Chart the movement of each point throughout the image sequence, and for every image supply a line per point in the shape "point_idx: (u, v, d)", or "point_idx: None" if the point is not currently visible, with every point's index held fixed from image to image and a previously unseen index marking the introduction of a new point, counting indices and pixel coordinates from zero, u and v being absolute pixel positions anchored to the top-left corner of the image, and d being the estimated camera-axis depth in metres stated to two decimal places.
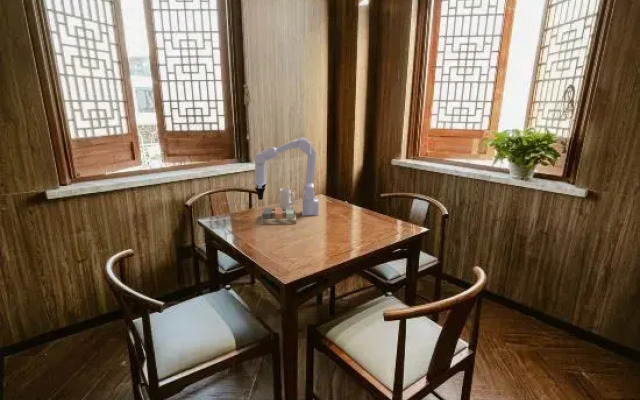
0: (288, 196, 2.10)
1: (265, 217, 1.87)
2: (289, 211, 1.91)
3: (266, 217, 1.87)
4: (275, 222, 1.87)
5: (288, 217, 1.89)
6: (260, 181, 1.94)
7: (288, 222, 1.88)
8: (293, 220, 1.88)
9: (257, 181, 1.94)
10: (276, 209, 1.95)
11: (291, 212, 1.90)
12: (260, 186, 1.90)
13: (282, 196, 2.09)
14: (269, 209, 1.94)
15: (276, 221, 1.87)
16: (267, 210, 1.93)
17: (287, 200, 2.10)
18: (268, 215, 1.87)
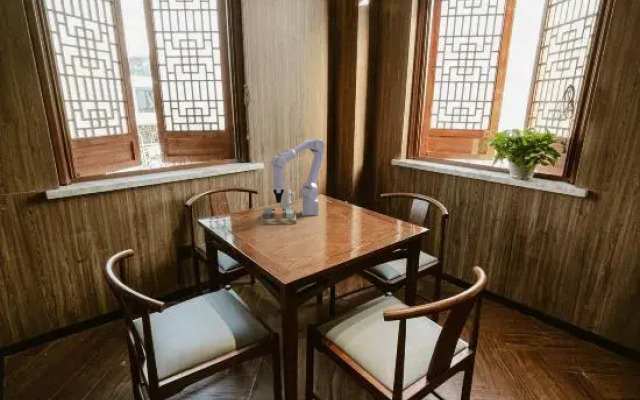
0: (288, 196, 2.10)
1: (265, 217, 1.87)
2: (289, 211, 1.91)
3: (266, 217, 1.87)
4: (275, 222, 1.87)
5: (288, 217, 1.89)
6: (278, 185, 1.86)
7: (288, 222, 1.88)
8: (293, 220, 1.88)
9: (275, 185, 1.87)
10: (276, 209, 1.95)
11: (291, 212, 1.90)
12: (279, 190, 1.83)
13: (282, 196, 2.09)
14: (269, 209, 1.94)
15: (276, 221, 1.87)
16: (267, 210, 1.93)
17: (287, 200, 2.10)
18: (268, 215, 1.87)
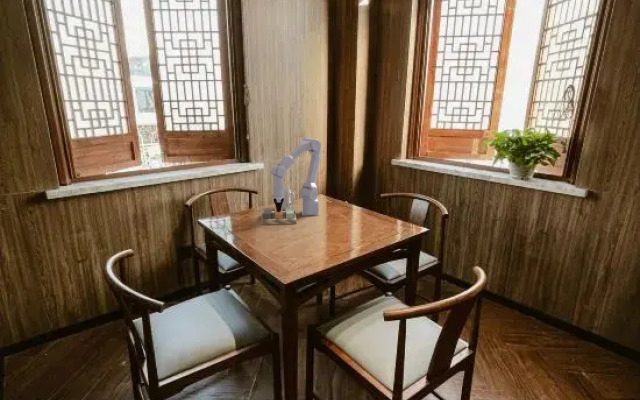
0: (288, 196, 2.10)
1: (265, 217, 1.87)
2: (289, 211, 1.91)
3: (266, 217, 1.87)
4: (275, 222, 1.87)
5: (288, 217, 1.89)
6: (278, 194, 1.88)
7: (288, 222, 1.88)
8: (293, 220, 1.88)
9: (275, 194, 1.88)
10: None
11: (291, 212, 1.90)
12: (279, 200, 1.84)
13: None
14: (269, 209, 1.94)
15: (276, 221, 1.87)
16: (267, 210, 1.93)
17: (287, 200, 2.10)
18: (268, 215, 1.87)
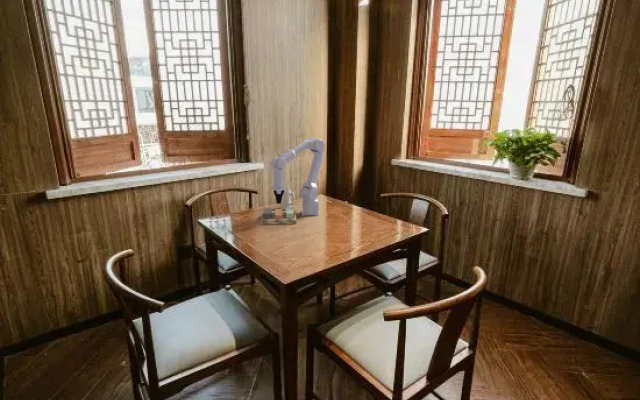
0: (288, 196, 2.10)
1: (265, 217, 1.87)
2: (289, 211, 1.91)
3: (266, 217, 1.87)
4: (275, 222, 1.87)
5: (288, 217, 1.89)
6: (279, 186, 1.86)
7: (288, 222, 1.88)
8: (293, 220, 1.88)
9: (275, 186, 1.87)
10: (276, 211, 1.95)
11: (291, 212, 1.90)
12: (279, 191, 1.83)
13: (282, 196, 2.09)
14: (269, 209, 1.94)
15: (276, 221, 1.87)
16: (267, 210, 1.93)
17: (287, 200, 2.10)
18: (268, 215, 1.87)
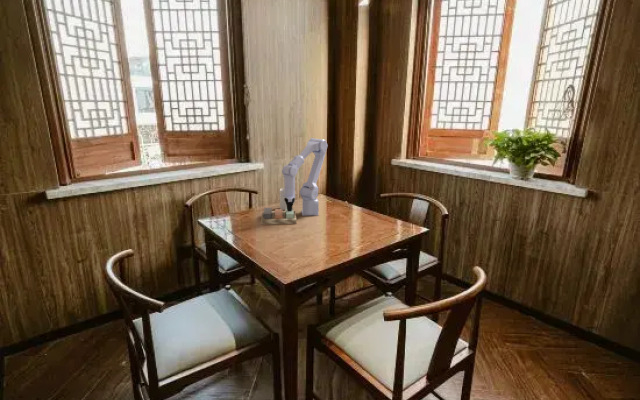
0: None
1: (265, 217, 1.87)
2: (289, 212, 1.91)
3: (266, 217, 1.87)
4: (275, 222, 1.87)
5: (288, 218, 1.89)
6: (290, 194, 1.88)
7: (288, 222, 1.88)
8: (293, 220, 1.88)
9: (286, 194, 1.89)
10: (276, 211, 1.95)
11: (291, 213, 1.90)
12: (290, 199, 1.85)
13: (282, 196, 2.09)
14: (269, 209, 1.94)
15: (276, 221, 1.87)
16: (267, 210, 1.93)
17: None
18: (268, 215, 1.87)
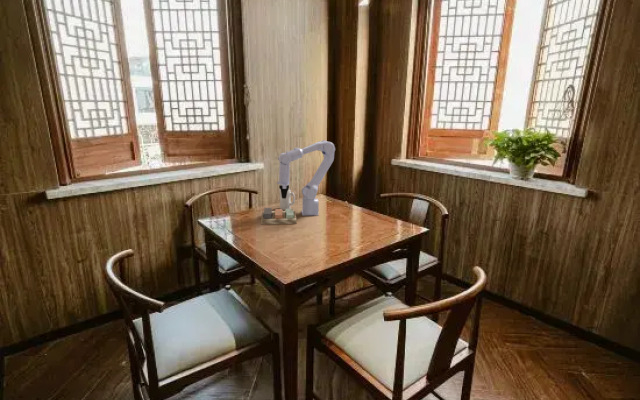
0: (288, 196, 2.10)
1: (265, 217, 1.87)
2: (289, 213, 1.91)
3: (266, 217, 1.87)
4: (275, 222, 1.87)
5: None
6: (284, 181, 1.93)
7: (288, 222, 1.88)
8: (293, 220, 1.88)
9: (281, 181, 1.93)
10: (276, 211, 1.95)
11: (291, 214, 1.90)
12: (285, 186, 1.89)
13: None
14: (269, 209, 1.94)
15: (276, 221, 1.87)
16: (267, 210, 1.93)
17: (287, 200, 2.10)
18: (268, 215, 1.87)
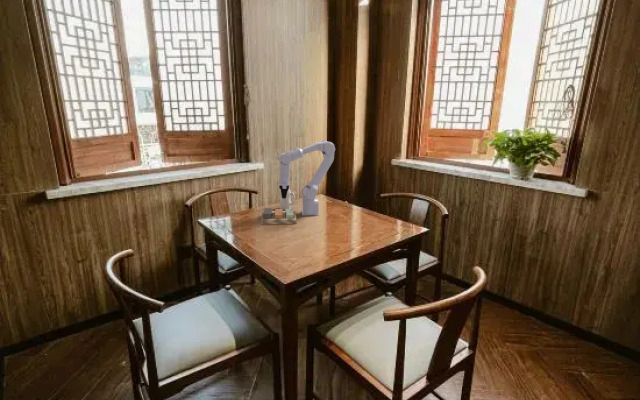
0: (288, 196, 2.10)
1: (265, 217, 1.87)
2: (289, 213, 1.91)
3: (266, 217, 1.87)
4: (275, 222, 1.87)
5: None
6: (284, 181, 1.93)
7: (288, 222, 1.88)
8: (293, 220, 1.88)
9: (281, 181, 1.93)
10: (276, 211, 1.95)
11: (291, 214, 1.90)
12: (285, 186, 1.89)
13: None
14: (269, 209, 1.94)
15: (276, 221, 1.87)
16: (267, 210, 1.93)
17: (287, 200, 2.10)
18: (268, 215, 1.87)
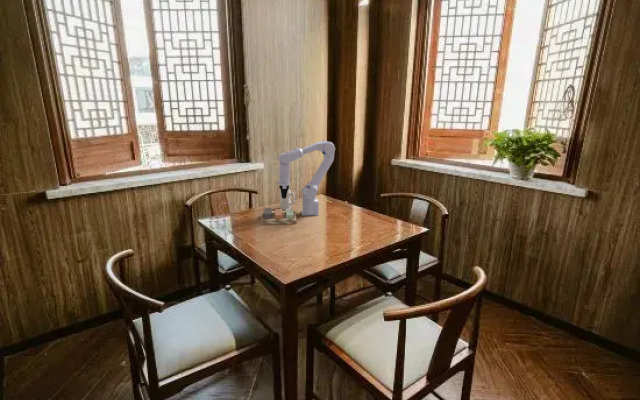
0: (288, 196, 2.10)
1: (265, 217, 1.87)
2: (289, 213, 1.91)
3: (266, 217, 1.87)
4: (275, 222, 1.87)
5: None
6: (284, 181, 1.93)
7: (288, 222, 1.88)
8: (293, 220, 1.88)
9: (281, 181, 1.93)
10: (276, 211, 1.95)
11: (291, 214, 1.90)
12: (285, 186, 1.89)
13: None
14: (269, 209, 1.94)
15: (276, 221, 1.87)
16: (267, 210, 1.93)
17: (287, 200, 2.10)
18: (268, 215, 1.87)
